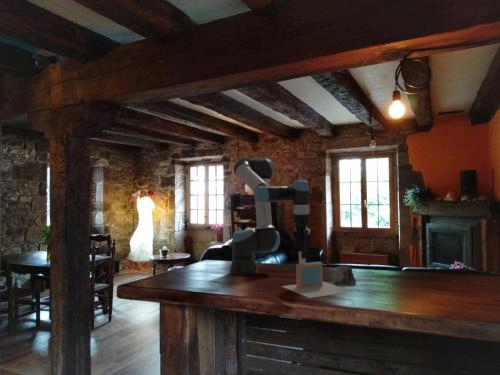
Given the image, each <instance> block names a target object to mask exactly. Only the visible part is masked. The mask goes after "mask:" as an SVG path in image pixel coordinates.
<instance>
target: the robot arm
mask: <svg viewBox="0 0 500 375" xmlns="http://www.w3.org/2000/svg"><path fill="white" fill-rule="evenodd" d="M233 174H234V176H235V177H236V178H237V179H238V180H240V181H242V182H244V184H245V185H246V186H248V188H249V189H251V191H252V192H253V198H254V201H255V202H254V203H255V215H256V217H255V218H256V227H255V228H254V229H242V230H238V231H235V232H233V234H232V239H231V243H232V260H231V264H230V268H229V275H230V276H235V277H247V276H255V275H258V268H257V264H256V262H255V257H254V256H255V254H261V253H272V252H275V251H276V252H277V250H278V248H279V246H280V244H281V236H280V232H279V231H277V230H276V228H275V226H274V225H273V219H272V208H271V202H272V203H275V202H278V203H279V202H281V203H282V202H285V203H286V202H287V203H289V202H292V211H293V212H292V213H293V216H292V221H293V223H295V225H294V227H293V228H292V229H291V230H292V233H293V240H294V246H295V247H294V248H295V249H296V250H297V252H298V264H305V263H307V262H306V259H307V254H306V253H307V251H309V249H310V241H311V235H312V230H311V229H310V228H309V225H308V223H310V220H311V219H310V217H311V216H310V188H309V187H310V186H309V181H307V180H293V182H292V185H270V183H271V181H272V178H274V176H275V166H274V163H273V161H271V159H270V158H265V157H242V158H240V159H238V160H237V161H236V162H235V163H234V165H233Z"/></svg>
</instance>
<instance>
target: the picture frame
mask: <svg viewBox="0 0 500 375" xmlns="http://www.w3.org/2000/svg"><path fill="white" fill-rule="evenodd" d="M323 273H324V272H323V262H319V261H316V262H306V263H305V264H299V263H298V264H297V263H296V264H295V277H296V278H295V280H296V281H295V282H296V287H297V288H300V289H301V288H308V287H315V286H323V282H324V280H323V278H324V277H323V276H324V275H323Z"/></svg>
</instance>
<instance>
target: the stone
mask: <svg viewBox="0 0 500 375" xmlns="http://www.w3.org/2000/svg"><path fill="white" fill-rule="evenodd" d="M333 275H334V277H335V279H336V281H337V283H341V284H346V285H351V286H353V285H354V286H355V285H356V284H357V281H356V278H355V275H354V273H353V268H352V266H349V265H348V266H347V265H339V266H337V267H335V269H334V274H333Z"/></svg>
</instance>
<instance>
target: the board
mask: <svg viewBox="0 0 500 375" xmlns="http://www.w3.org/2000/svg"><path fill="white" fill-rule="evenodd" d="M281 288H285V289H287V290H290V291H291V292H293V293H294V292H295V293H297V294H298V295H301V296H304V297H306V298H308V299H313V298H318V297H325V296H331V295H332V296H333V295H338V294H345V293H351V292H352V293H353V292H354V291H353V290H350V289H348V288H345V287H341V286H338V285H335V284H332V283H329V282H326V281H323V286H315V287H308V288H301V289H300V288H297V287H296V284H288V285H282V286H281Z"/></svg>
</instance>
